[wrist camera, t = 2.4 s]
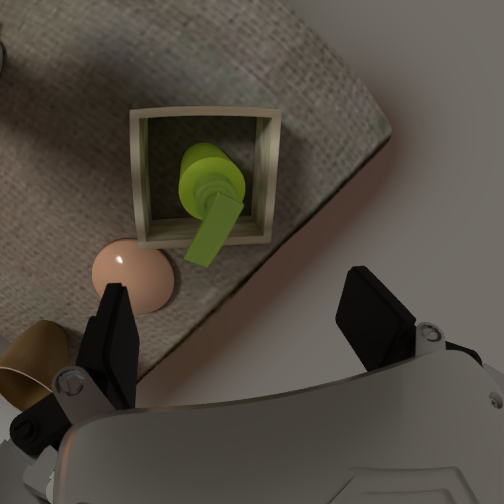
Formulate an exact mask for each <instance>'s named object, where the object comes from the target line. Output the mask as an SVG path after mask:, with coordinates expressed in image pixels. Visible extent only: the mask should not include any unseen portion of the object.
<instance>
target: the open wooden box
mask: <svg viewBox="0 0 504 504" xmlns="http://www.w3.org/2000/svg"><path fill="white" fill-rule="evenodd" d="M281 114H282V110H280V109H268V108H254V107H232V106H183V107H162V108H147V109H136V110H130V157H131V176H132V191H133V203H134V213H135V223H136V231H137V239H138V247H139V250H148V249H165V248H183V247H189V245H190V244H191V242H192V240H193V238H194V236H195V234H196V233H197V231H198V229H199V227H200V225H201V223H202V221H203V220H200V219H197V218H176V219H158V220H152V215H151V202H150V186H149V164H148V118H151V117H167V116H194V115H226V116H254V117H257V122H256V139H255V156H254V173H253V190H252V208H251V215H250V216H238V218H237V220H236V222H235V224H234V226H233V227H232V229H231V231H230V233H229V235H228V237H227V238H226V240H225V242H224V243H223V245H239V244H259V243H271V237H272V226H273V215H274V203H275V191H276V179H277V167H278V154H279V141H280V128H281Z"/></svg>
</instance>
